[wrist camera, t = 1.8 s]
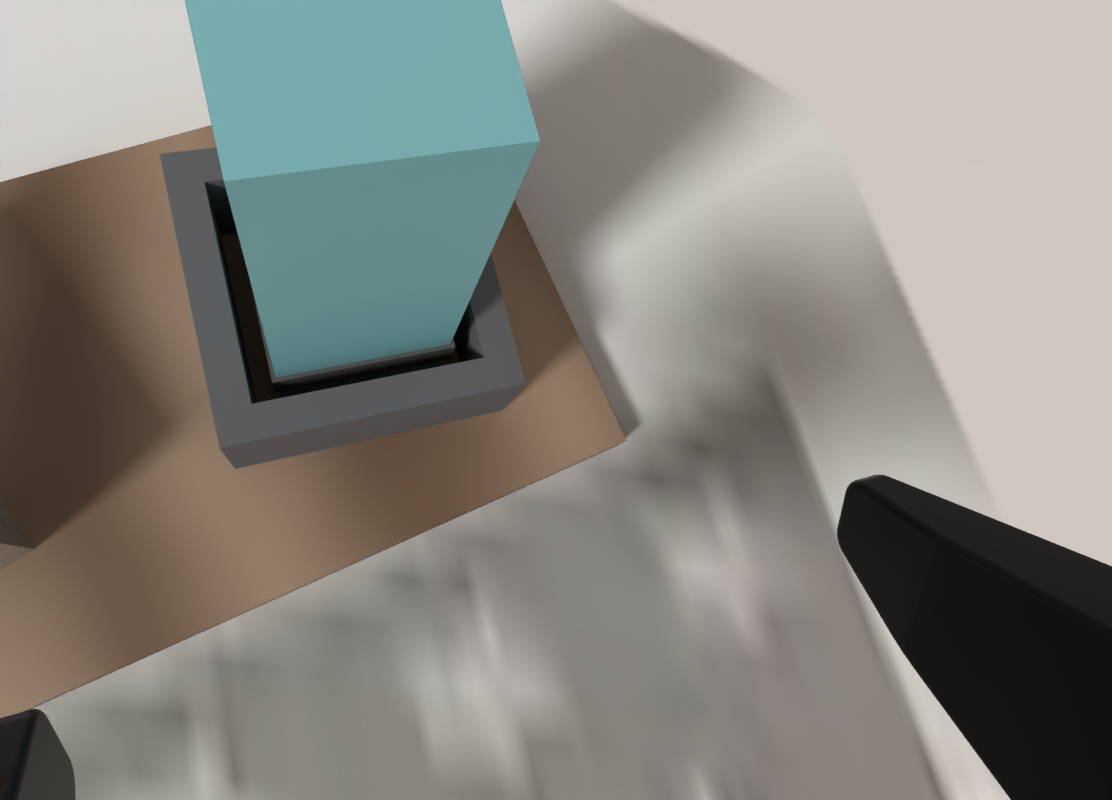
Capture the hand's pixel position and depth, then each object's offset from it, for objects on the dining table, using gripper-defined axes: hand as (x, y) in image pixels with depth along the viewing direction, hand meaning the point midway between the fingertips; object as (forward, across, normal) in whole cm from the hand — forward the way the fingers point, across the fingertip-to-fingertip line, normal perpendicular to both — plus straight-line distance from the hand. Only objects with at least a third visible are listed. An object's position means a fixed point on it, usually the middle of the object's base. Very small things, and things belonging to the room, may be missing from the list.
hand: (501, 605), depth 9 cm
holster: (+14, 0, +4) cm, 15 cm away
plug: (+14, 0, +4) cm, 15 cm away
